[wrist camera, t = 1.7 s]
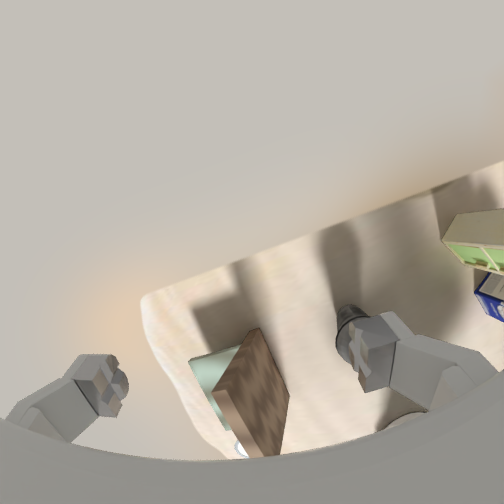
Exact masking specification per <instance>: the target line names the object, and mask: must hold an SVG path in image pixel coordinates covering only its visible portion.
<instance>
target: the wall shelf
mask: <svg viewBox="0 0 504 504" xmlns="http://www.w3.org/2000/svg"><path fill="white" fill-rule="evenodd" d="M188 363H189V365H190V367H191V369H192V371H193V373H194V375H195V377H196V379H197V381H198V382H199V384H200V386H201V388H202V390H203V392H204V394H205V395H206V397H207V399H208V401H209V403H210V404H211V406H212V408H213V410H214V411H215V413H216V415H217V416H218V418H219V420H220V421H221V423H222V425H223V426H224V428H225V430H226V431H227V430H232V431H233V432H234V434H235V436H236V437H237V439H238V440H239V442H240V444H241V445H242V447H243V448H244V450H245V452H246V453H247V455H248V456H249V458H258V457H267V456H275V455H280V451H281V446H282V440H283V434H284V428H285V422H286V416H287V410H288V403H289V397H290V396H289V394H288V391H287V389H286V387H285V385H284V383H283V380H282V378H281V376H280V374H279V371H278V369H277V367H276V365H275V362H274V360H273V358H272V356H271V353H270V351H269V349H268V347H267V344H266V342H265V340H264V337H263V335H262V333H261V331H260V328H257V329H254V330H251V331H249V333H248V334H247V336H246V338H245V339H244V341H243V343H242V344H241V345H237V346H234V347H231V348H227V349H224V350H220V351H217V352H213V353H210V354H206V355H203V356H199V357H195V358H191V359H190V360H189V361H188Z"/></svg>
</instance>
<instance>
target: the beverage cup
mask: <svg viewBox="0 0 504 504" xmlns="http://www.w3.org/2000/svg"><path fill="white" fill-rule="evenodd" d="M366 318H370V316H368V315H367V314H366V313H364V312H363V311H362V310H361V309H360V308H358V307H356V306H355V305H346V306H344V307H342V308H341V309H340V311H339V312H338V315H337V330H338V333H337V336H336V349H337V351H338V353H339V355H340V356H341V357H342V358H343V359H344V360H345V361H346V362H348V363H350V364H351V361H350V356H349V343H350V342H351V340H352V339H351V337H350V335H349V324H350V323H351V322H355V321H359V320H362V319H366Z"/></svg>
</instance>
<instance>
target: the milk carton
mask: <svg viewBox="0 0 504 504" xmlns="http://www.w3.org/2000/svg"><path fill="white" fill-rule="evenodd" d="M474 293H475V295H476V297H477V298H478V300H479V302H480V303H481V305H482V307H483V309H484V310H485V312H486V314H488V315H490V316H492V317H494V318H496V319H498V320H500V321H502V322H504V275H500V274H496V273H493V272H489V273H488V275H487V276H486V277H485V279H484V280H483V281H482V283H481V284H480V285H479V287H478V288H477V289H476V291H475V292H474Z"/></svg>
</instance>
